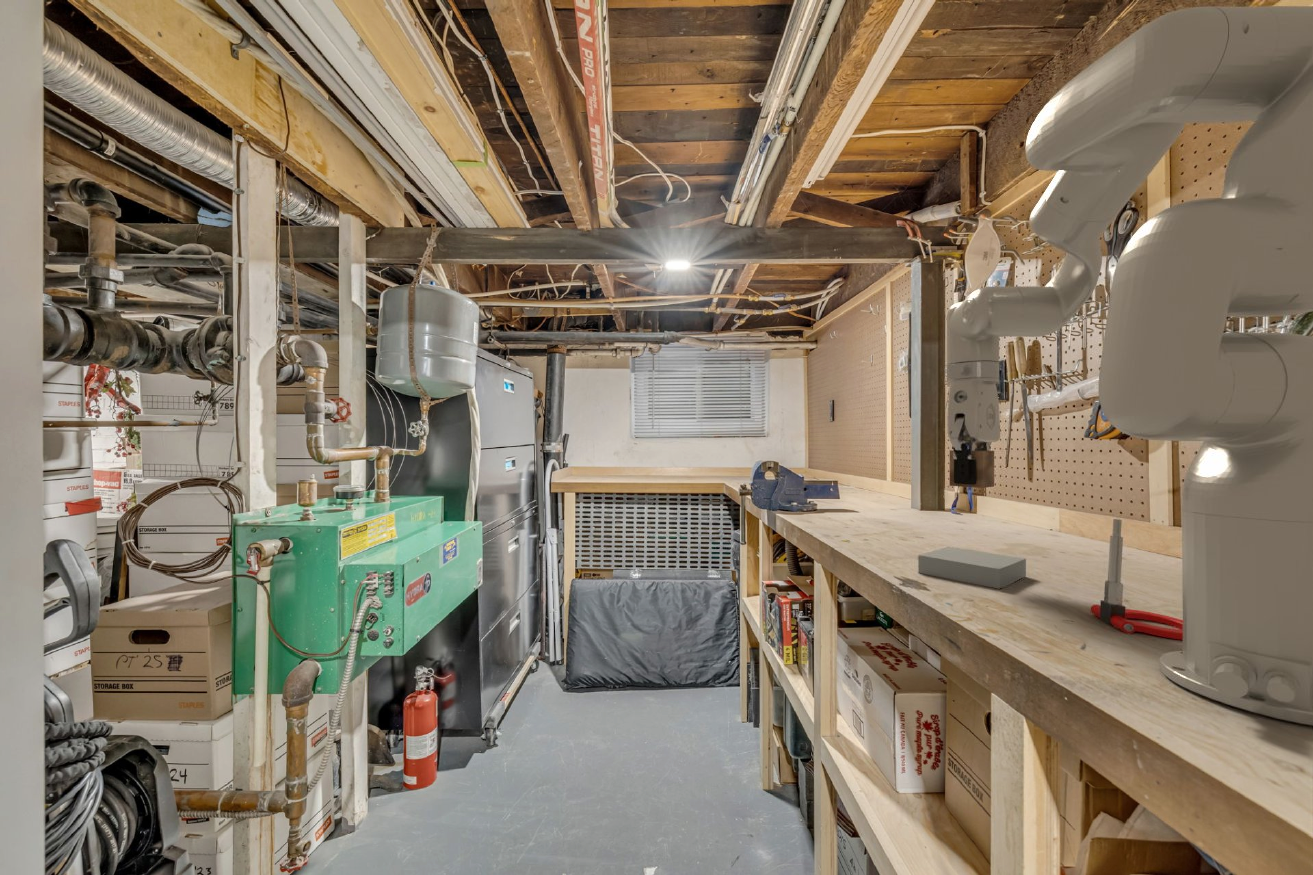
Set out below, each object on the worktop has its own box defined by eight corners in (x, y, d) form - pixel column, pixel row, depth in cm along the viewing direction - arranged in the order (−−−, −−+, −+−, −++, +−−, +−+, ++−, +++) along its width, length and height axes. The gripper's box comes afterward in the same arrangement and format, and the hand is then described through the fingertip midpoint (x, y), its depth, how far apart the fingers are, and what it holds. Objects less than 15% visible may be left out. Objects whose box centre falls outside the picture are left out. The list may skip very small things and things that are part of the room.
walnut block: (982, 488, 82) (982, 450, 82) (949, 485, 86) (949, 450, 86) (994, 486, 85) (994, 450, 85) (961, 484, 89) (961, 450, 89)
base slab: (999, 589, 77) (999, 569, 77) (918, 572, 86) (918, 555, 86) (1025, 576, 84) (1025, 558, 84) (948, 563, 94) (948, 546, 94)
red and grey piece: (1172, 623, 64) (1085, 612, 66) (1178, 521, 64) (1090, 514, 66) (1227, 649, 56) (1125, 636, 58) (1233, 532, 56) (1131, 524, 58)
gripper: (977, 368, 77) (976, 487, 77) (1015, 377, 88) (1015, 482, 88) (926, 373, 83) (925, 484, 83) (968, 381, 94) (967, 479, 94)
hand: (971, 482), depth 85 cm, fingers closed on walnut block, 5 cm apart
